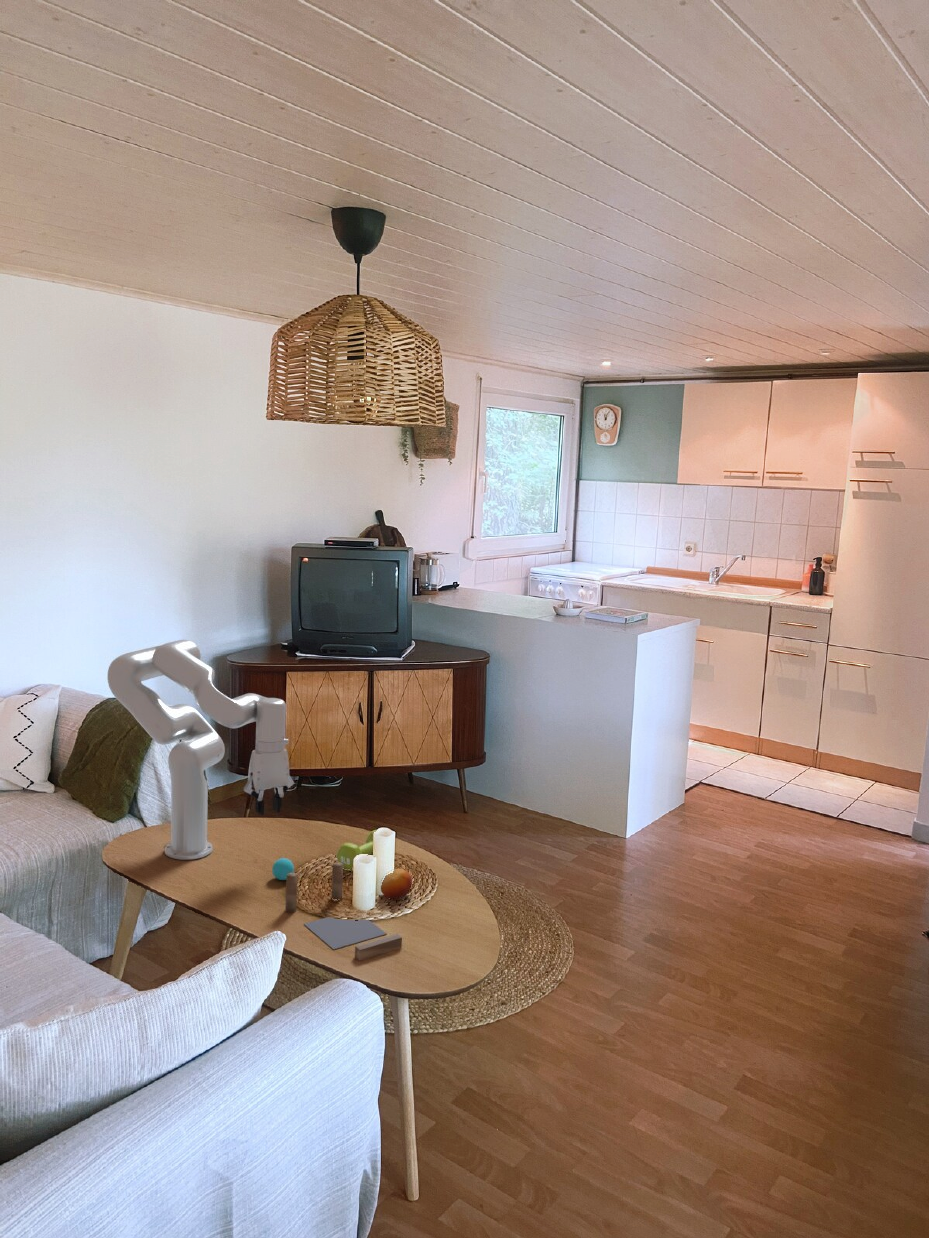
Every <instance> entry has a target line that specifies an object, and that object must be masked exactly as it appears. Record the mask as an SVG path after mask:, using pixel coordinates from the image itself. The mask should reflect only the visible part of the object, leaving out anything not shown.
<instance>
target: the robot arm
mask: <svg viewBox="0 0 929 1238" xmlns="http://www.w3.org/2000/svg"><path fill="white" fill-rule="evenodd" d="M201 654H202V653H201V650H200V649H199V646H197V644H196V643H195V642H194V641H191V640H189V639H179V640H174V641H170V642H165V643H164V644H161V645H156V646H152V647H147V648H143V649H138V650H135V651H130V652H126V653H124V654H121V655H119V656H117V657H115V658H114V659H113V661H111V663H110V664H109V666H108V669H107V677H106V678H107V683H108V687H109V689H110V692H111V693H112V695H113V696H114V697H115V699H116V700H117V701H118V702H119V703H120V704H121V705H122V706H123V707H124V708H125V709H126V710H127V711H128V712H129V713H130V714H131V715H132V716H133V717H134V719H135V720H136V721H137V723H139V725H140V726H141V727H142V728H143V729H144V731H145V732H146V733H147V734H148V735H149V736H150V737H151V738H152V740H154V742H155V743H157V744H158V745H164V746H165V745H170V744H172V743H176V742H178V741H180V742H178V743H177V744H175V745H174V746H173V747H172V748H171V750H170V751H169V754H168V758H167V763H168V769H169V773H170V774H169V775H170V787H171V788H170V789H171V796H170V797H171V803H170V804H171V805H170V806H171V807H170V809H171V810H170V813H171V814H170V843H168V844H167V845H166V846H165V847H164V855H166V856H167V857H169V858H171V859H174V860H182V861H185V860H187V861H190V860H197V859H201V858H204V857H206V856H208V855H209V854H211V853H212V852H213V844H212V843H211V842H209V841H208V797H209V796H208V792H209V791H208V790H209V789H208V781H207V780H206V777H205V774H204V771H205V770H206V769H208V768H211V767H212V766H214V765H216V764H218V763H220V762H221V761H222V759H223V758H224V756H225V753H226V752H225V749H226V748H225V743H224V741H223V739H222V737H221V736H220V735H219V734H218V732H217V731H216V730H215V729H214V728H213V727H212V726H211V724H210V723H209V722H208V721H207V720H206V719H205V717H204V716H203V715H202V714H201V713H200V712H199V710H197V709H196V708H195V707H193V706H191V705H189V704H187V703H186V704H185V703H179V704H174V705H172V706H170V705H168V704H167V703H166V702H165V701H164V700H163V699H162V698H161V697H160V695H159V694H158V693H157V692H156V691H154V690H153V689H151V688H150V687H147V686H146V685H145V684H143V683H142V682H144V681H147V680H151V679H155V678H158V677H162V676H165V677H167V678H168V679H170V680H171V681H172V682H174V683H176V684H177V685H179V686H181V687H182V688H183V689H185V690H186V691H188V692H189V693H191V694H192V695H193V697H194V700H195V703H196V704H197V705H198V706H199V709H200V710H201V712H203V713H204V714H205V715H206V716H207V717H209V718H211V719H212V720H213V721H215V722H216V723H218V724H220V725H221V726H224V727H226V728H230V729H238V728H241V727H244V726H246V725H248V724H250V723H254V722H256V723H255V724H256V725H255V726H256V727H255V749H253V750H252V751H251V755H250V760H249V764H248V765H249V767H248V775H247V782H246V784H245V786H244V787H243V791H244V792H246V793H247V794H249V795H251V796H252V797H253V798H254V799H255V800H254V801H255V803H254V805H255V806H254V807H255V808H254V809H255V810H254V811H255V812H256V813H257V814H258V815H260V816H264V815H265V801H264V800H263V797H264V794H265V793H264V792H265V790H269V789H274V794H273V796H272V809H273V810H274V811H275V812H277V813H281V808H282V804H283V802H282V799H283V797H285V796H284V795H285V794H286V792H287V791H288V790H289V788H291V787H292V786H294V784H295V781H294V780H293V778H292V777H291V775H290V764H289V763H290V762H289V761H290V760H289V755H288V750H287V749H286V745H289V744H290V739H289V738H286V720H287V719H286V717H287V714H286V713H287V704H286V702H285V701H284V700H283V699H281V698H277V697H266V696H263V695H260V694H257V693H254V692H253V693H252V692H248V693H245V694H242V695H239V696H236V697H234V698H230V697H228V696H227V695H226V694H224V693H222V692H221V691H219V690H218V689H217V688H216V687H215V686H214V684H213V681H214V678H215V674H216V673H215V670H214V668H213V667H212V666H210V665H208V664H206V663H205V662H204V661H203V660H201ZM253 787H254V789H252V788H253Z"/></svg>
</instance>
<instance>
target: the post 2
mask: <svg viewBox="0 0 929 1238" xmlns="http://www.w3.org/2000/svg"><path fill="white" fill-rule="evenodd" d="M343 874H344V870H343V863H339V862H338V861H337V862H334V863H332V873H331V877H332V878H331V897H332V898H333V899H337V900H338V899H341V898H342V899H343V883H344V882H343V881H344V880H343V878H344V875H343ZM331 897H330V898H331Z"/></svg>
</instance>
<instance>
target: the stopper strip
mask: <svg viewBox="0 0 929 1238" xmlns="http://www.w3.org/2000/svg"><path fill="white" fill-rule="evenodd" d="M402 945H403V936H401V935H399V934H398V933H395V934H392V935H388V936H385V937H382V938H378V939H373V940H371V941H368V942H364V943H361V944H357V945H355V947H354V957H355V958H356V960H358V961H359V962H360V961H363V960H366V959H369V958H372V957H376V956H380V955H382V954H386V953H389V952H393V951H395V950H399V949H402Z"/></svg>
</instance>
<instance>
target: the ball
mask: <svg viewBox="0 0 929 1238" xmlns="http://www.w3.org/2000/svg"><path fill="white" fill-rule="evenodd" d="M294 869H295V867H294V864H293V862H292V860H290V859H288V858H285V857H284V858H283V857H282V858H279V859H277V860H276V861H275V862H274V863H273V866H272V875H273V876H274V878H276V879H277V880H280V881H286V878H287V874H288V873H294V871H295V870H294Z"/></svg>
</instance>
